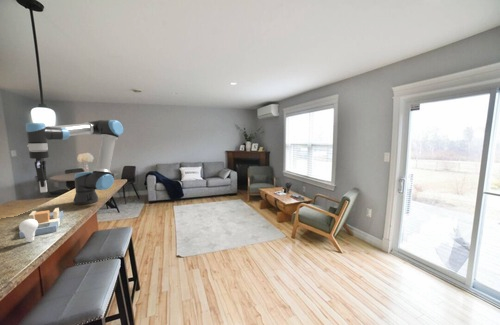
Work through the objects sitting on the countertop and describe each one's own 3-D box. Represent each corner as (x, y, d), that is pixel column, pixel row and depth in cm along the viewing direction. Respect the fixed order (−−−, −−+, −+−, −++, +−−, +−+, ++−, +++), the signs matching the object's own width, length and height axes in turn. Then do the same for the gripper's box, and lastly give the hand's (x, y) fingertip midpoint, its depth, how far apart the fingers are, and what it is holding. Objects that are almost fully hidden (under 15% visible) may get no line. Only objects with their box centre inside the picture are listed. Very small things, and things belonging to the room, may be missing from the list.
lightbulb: (34, 244, 94) (31, 221, 93) (17, 246, 92) (14, 222, 91) (43, 238, 100) (41, 216, 99) (27, 239, 98) (24, 217, 97)
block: (37, 220, 113) (36, 211, 113) (50, 218, 116) (49, 210, 116) (35, 223, 109) (34, 214, 109) (48, 221, 112) (47, 212, 112)
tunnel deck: (33, 219, 122) (32, 208, 121) (63, 215, 129) (62, 204, 129) (19, 238, 99) (18, 224, 99) (56, 231, 107) (55, 218, 106)
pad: (27, 228, 110) (26, 223, 110) (60, 223, 118) (59, 217, 117) (24, 232, 106) (23, 226, 105) (58, 226, 113) (58, 221, 113)
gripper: (31, 150, 118) (37, 190, 121) (25, 152, 107) (31, 195, 111) (50, 150, 122) (54, 188, 125) (45, 151, 112) (51, 193, 115)
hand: (44, 191), depth 118 cm, fingers closed
